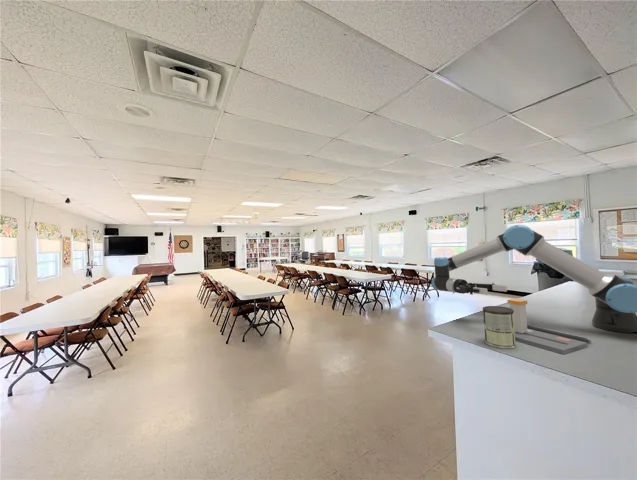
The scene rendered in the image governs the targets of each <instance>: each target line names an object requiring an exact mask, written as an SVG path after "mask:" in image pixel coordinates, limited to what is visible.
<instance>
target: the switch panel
mask: <svg viewBox="0 0 637 480" xmlns="http://www.w3.org/2000/svg"><path fill="white" fill-rule="evenodd" d="M515 342H519V343H522V344H526V345H528V346H533V347H536V348H538V349H539V348H540V349H544V350H546V351H550V352H553V353H556V354H557V353H558V354H561V355H567V354H569V353H572V352H577V351H579V350H583V349H585V347H586V348H588V347H589V343H587V342H582V341H578V340H574V339H570V338H565V337H561V336H557V335H553V334H549V333H544V332H540V331H536V330H532V329H527V332H525V333H518V332H515ZM582 348H583V349H582Z"/></svg>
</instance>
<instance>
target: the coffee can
mask: <svg viewBox="0 0 637 480" xmlns="http://www.w3.org/2000/svg"><path fill="white" fill-rule="evenodd" d="M482 311H483V312H482V313H483V314H482V315H483V327H484V328H483V329H484V342H485V344H487V345H488V346H491V347H494V348H499V349H513V348H514V349H515V348H516V347H517V346H516V345H517V344H516V341H515V330H514V317H513V312H514V310H513V309H511V308H510V307H506V306H501V305H500V306H499V305H488V306H483V307H482Z"/></svg>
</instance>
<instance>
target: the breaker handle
mask: <svg viewBox="0 0 637 480" xmlns="http://www.w3.org/2000/svg"><path fill="white" fill-rule="evenodd" d="M507 304H509V308H511V309H513V310H514V312H513V317H514V330H515V332H518V333H525V332H527V325H528V321H527V310H526V309H527V308H526V305H527V304H528V300H527V299H521V298H511V299H507Z"/></svg>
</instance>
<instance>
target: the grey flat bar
mask: <svg viewBox="0 0 637 480" xmlns="http://www.w3.org/2000/svg"><path fill="white" fill-rule="evenodd" d="M527 329H532V330H536V331H540V332H544V333H549V334H553V335H557V336H561V337H565V338H570V339H574V340H578V341H582V342H587V343H588V344H590V343H591V342H592V339H591V338H589V337H587V336H586V337H585V336H581V335H577V334H576V335H575V334H572V333H566V332H563V331H558V330H555V329H549V328H546V327H540V326H536V325H532V324H530V325H529V324H527Z"/></svg>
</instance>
